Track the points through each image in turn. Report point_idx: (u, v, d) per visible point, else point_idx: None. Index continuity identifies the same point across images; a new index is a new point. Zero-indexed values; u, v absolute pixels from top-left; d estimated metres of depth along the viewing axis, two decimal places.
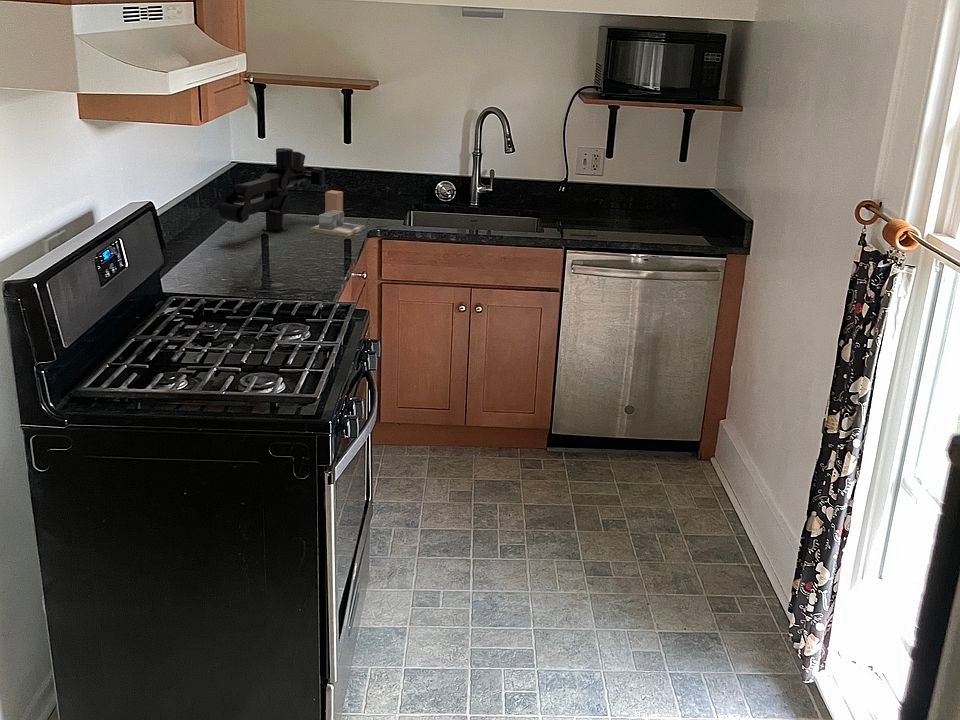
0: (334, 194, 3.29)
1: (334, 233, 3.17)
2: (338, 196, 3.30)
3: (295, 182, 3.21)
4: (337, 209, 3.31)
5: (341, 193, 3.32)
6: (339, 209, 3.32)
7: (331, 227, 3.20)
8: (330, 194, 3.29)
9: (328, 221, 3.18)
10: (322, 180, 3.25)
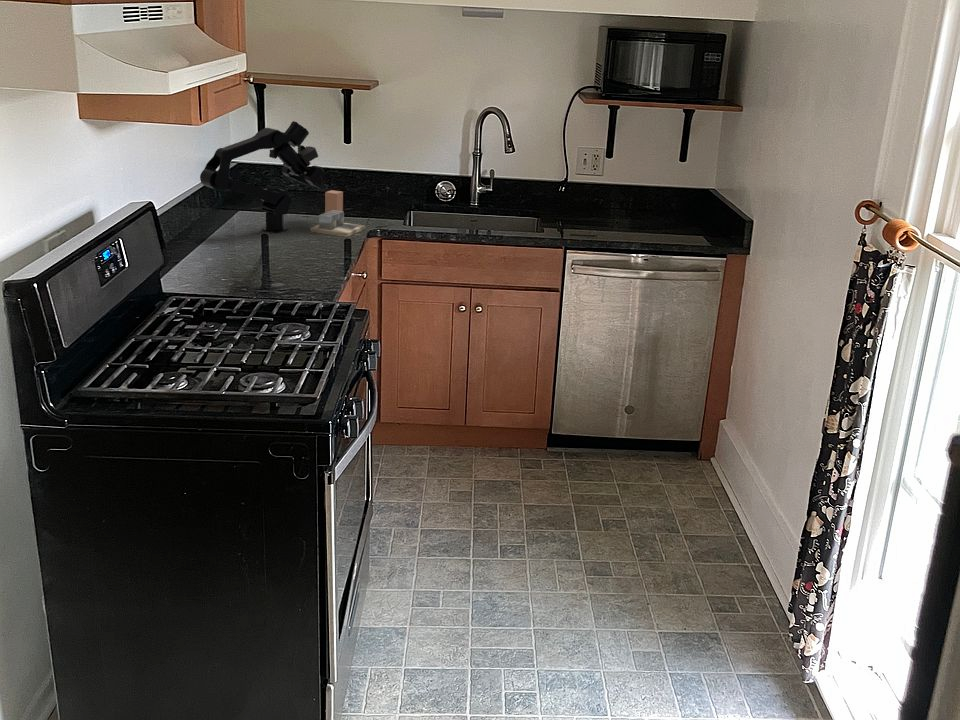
0: (334, 194, 3.29)
1: (334, 233, 3.17)
2: (338, 196, 3.30)
3: (291, 160, 3.12)
4: (337, 209, 3.31)
5: (341, 193, 3.32)
6: (339, 209, 3.32)
7: (331, 227, 3.20)
8: (330, 194, 3.29)
9: (328, 221, 3.18)
10: (315, 176, 3.13)
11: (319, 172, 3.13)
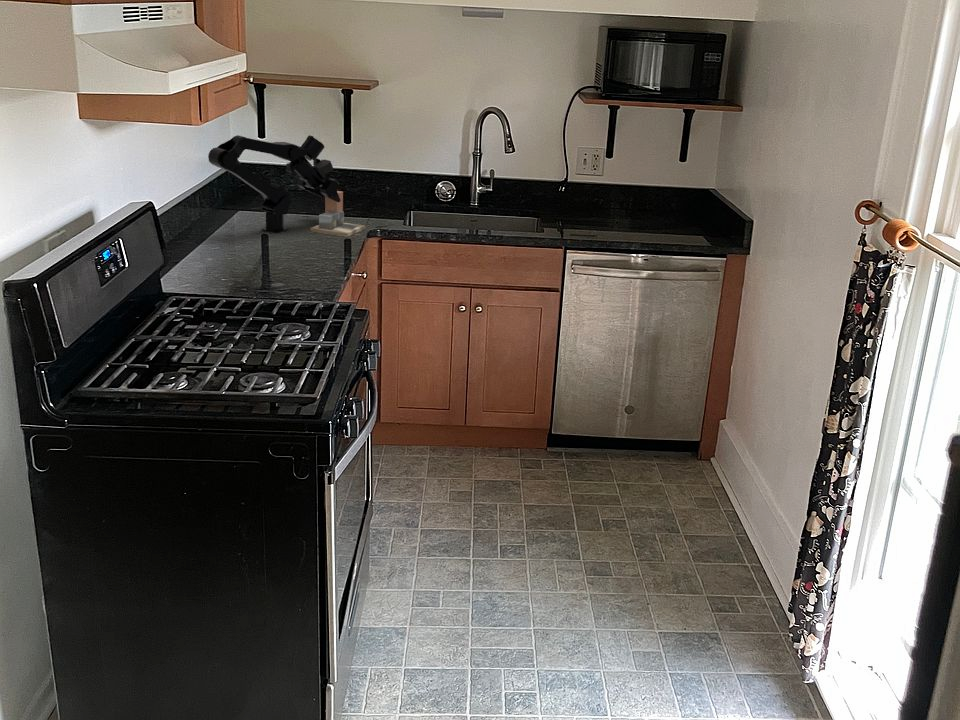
0: None
1: (334, 233, 3.17)
2: None
3: (307, 174, 3.18)
4: (337, 209, 3.31)
5: (341, 193, 3.32)
6: (339, 209, 3.32)
7: (331, 227, 3.20)
8: None
9: (328, 221, 3.18)
10: (331, 189, 3.19)
11: (335, 185, 3.19)
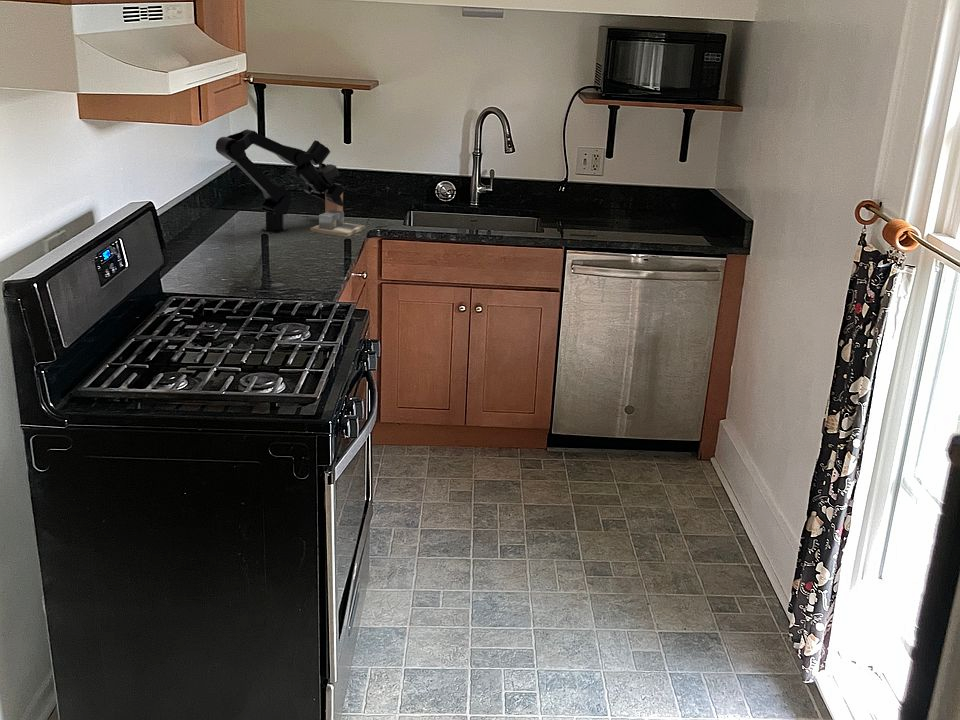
0: None
1: (334, 233, 3.17)
2: None
3: (313, 178, 3.20)
4: (337, 209, 3.31)
5: None
6: (339, 209, 3.32)
7: (331, 227, 3.20)
8: None
9: (328, 221, 3.18)
10: (336, 194, 3.21)
11: (340, 190, 3.21)
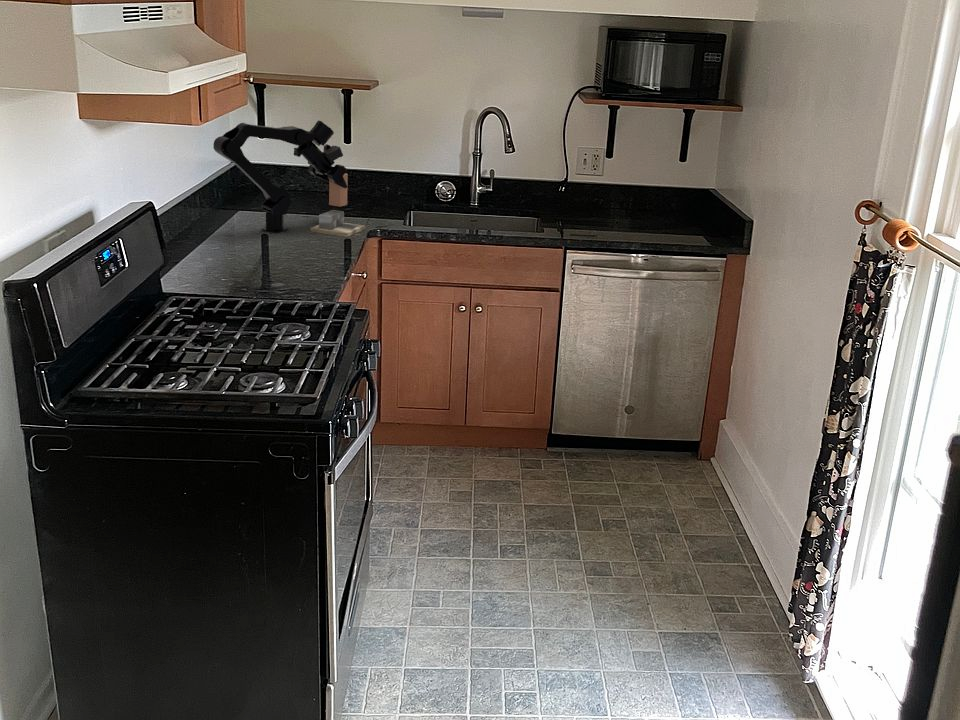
0: None
1: (334, 233, 3.17)
2: None
3: (315, 159, 3.17)
4: (341, 191, 3.27)
5: (345, 175, 3.27)
6: (343, 191, 3.28)
7: (331, 227, 3.20)
8: None
9: (328, 221, 3.18)
10: (338, 175, 3.16)
11: (342, 171, 3.17)
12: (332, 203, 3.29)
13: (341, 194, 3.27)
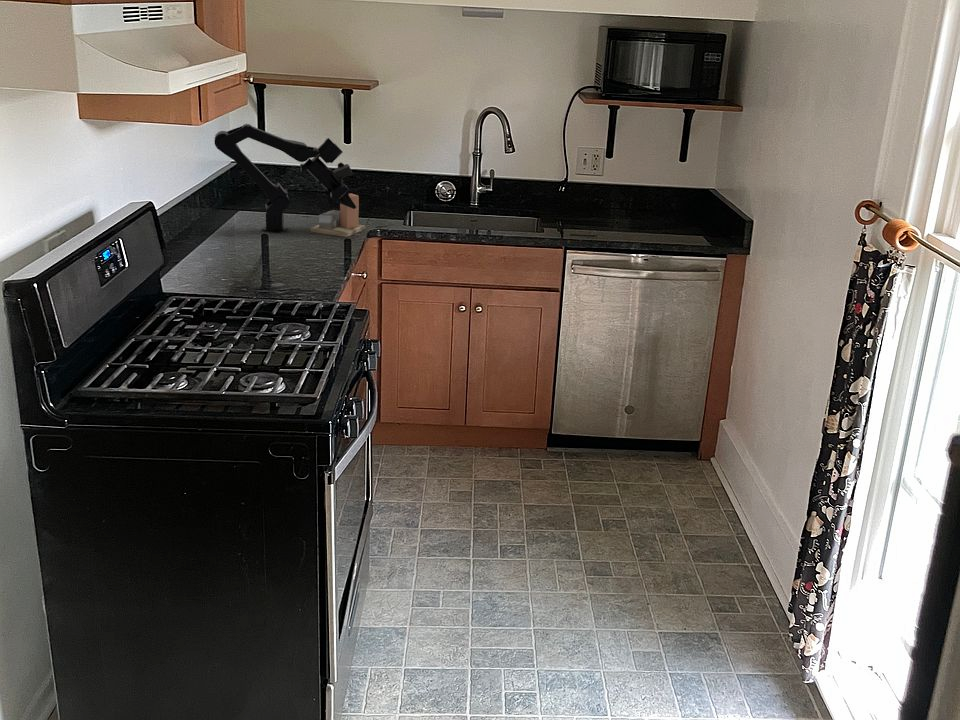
0: None
1: (334, 233, 3.17)
2: None
3: (319, 176, 3.13)
4: (348, 213, 3.20)
5: (356, 197, 3.20)
6: (352, 213, 3.21)
7: (331, 227, 3.20)
8: None
9: (328, 221, 3.18)
10: (337, 193, 3.10)
11: (341, 190, 3.10)
12: (342, 224, 3.24)
13: (348, 216, 3.21)
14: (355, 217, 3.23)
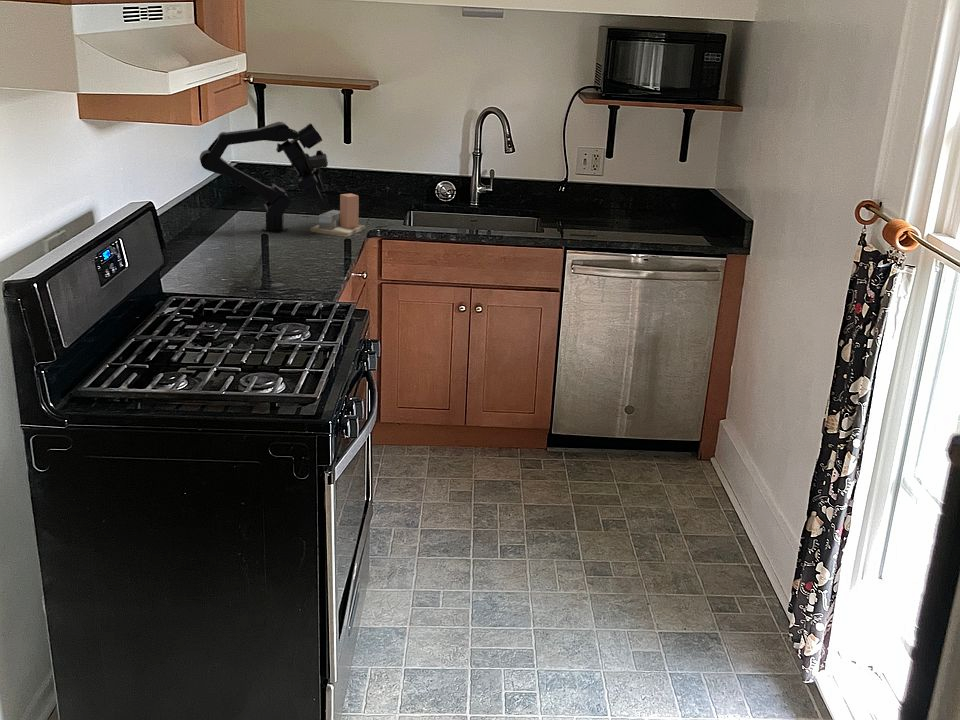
0: (346, 197, 3.19)
1: (334, 233, 3.17)
2: (350, 200, 3.19)
3: (293, 160, 3.10)
4: (348, 213, 3.20)
5: (356, 197, 3.20)
6: (352, 213, 3.21)
7: (331, 227, 3.20)
8: (343, 196, 3.20)
9: (328, 221, 3.18)
10: (303, 183, 3.08)
11: (309, 181, 3.07)
12: (342, 224, 3.24)
13: (348, 216, 3.21)
14: (355, 217, 3.23)
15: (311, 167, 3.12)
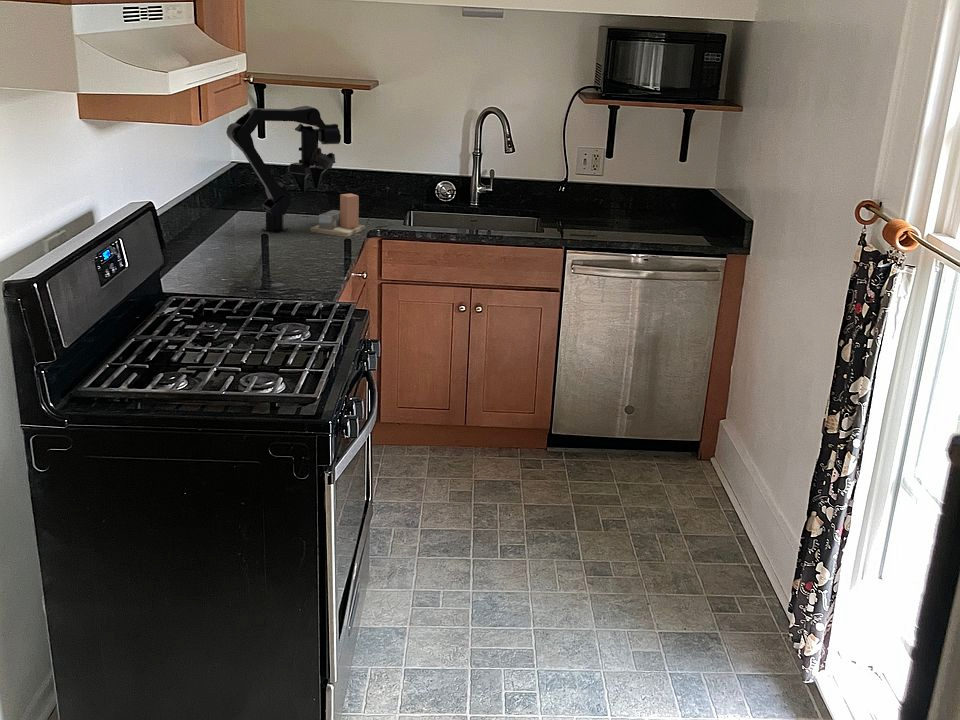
0: (346, 197, 3.19)
1: (334, 233, 3.17)
2: (350, 200, 3.19)
3: (302, 144, 3.13)
4: (348, 213, 3.20)
5: (356, 197, 3.20)
6: (352, 213, 3.21)
7: (331, 227, 3.20)
8: (343, 196, 3.20)
9: (328, 221, 3.18)
10: (293, 168, 3.09)
11: (299, 169, 3.09)
12: (342, 224, 3.24)
13: (348, 216, 3.21)
14: (355, 217, 3.23)
15: (313, 161, 3.13)
